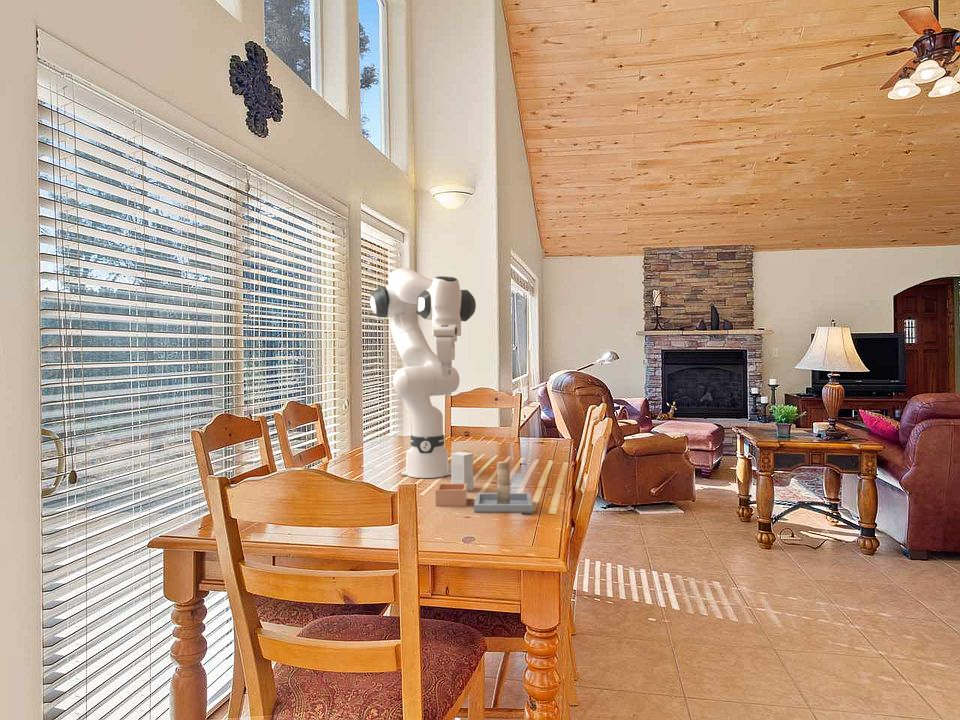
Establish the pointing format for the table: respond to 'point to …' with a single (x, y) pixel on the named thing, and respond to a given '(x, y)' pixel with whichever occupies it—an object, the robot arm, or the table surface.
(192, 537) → the table surface
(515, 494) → the slate tray
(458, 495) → the terracotta open box
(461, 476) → the skincare box
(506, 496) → the translucent grey tall block
